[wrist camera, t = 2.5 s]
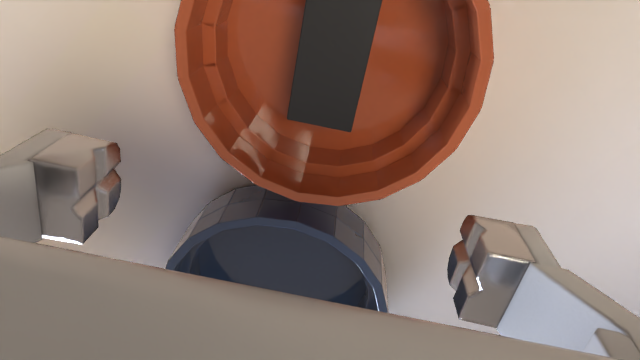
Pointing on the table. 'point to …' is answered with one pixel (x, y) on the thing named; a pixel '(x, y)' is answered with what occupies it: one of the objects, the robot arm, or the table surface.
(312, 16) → the eraser
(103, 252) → the table surface
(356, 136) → the terracotta bowl
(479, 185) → the table surface
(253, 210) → the blue bowl
